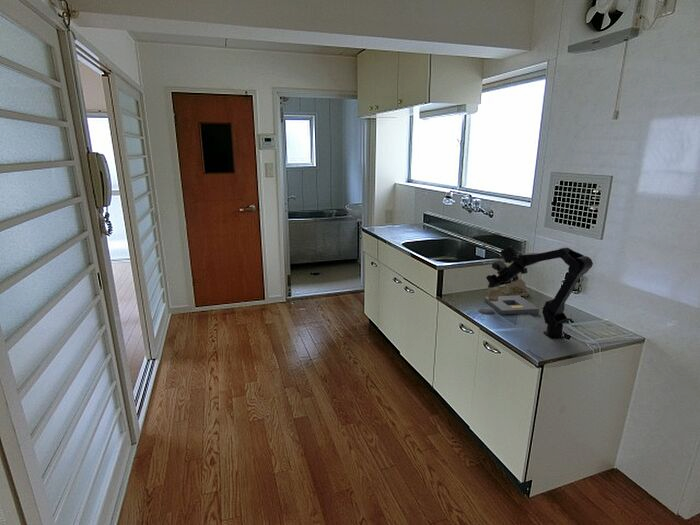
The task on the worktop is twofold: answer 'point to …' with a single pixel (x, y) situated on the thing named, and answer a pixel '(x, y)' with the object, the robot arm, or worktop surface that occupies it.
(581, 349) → the worktop surface
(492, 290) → the beech peg
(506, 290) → the ceramic model
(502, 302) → the hole plate
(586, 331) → the worktop surface
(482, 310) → the pad
